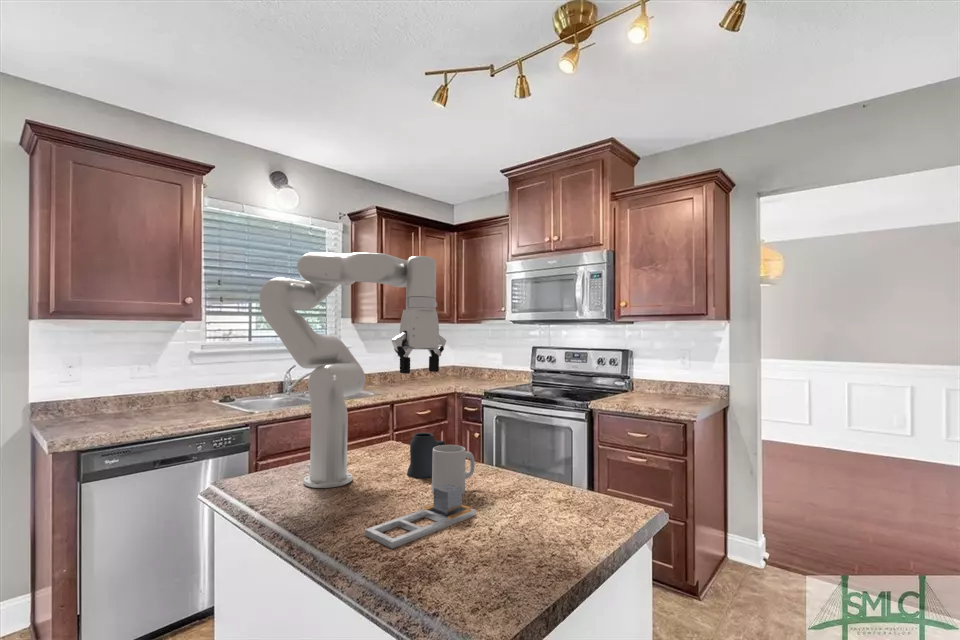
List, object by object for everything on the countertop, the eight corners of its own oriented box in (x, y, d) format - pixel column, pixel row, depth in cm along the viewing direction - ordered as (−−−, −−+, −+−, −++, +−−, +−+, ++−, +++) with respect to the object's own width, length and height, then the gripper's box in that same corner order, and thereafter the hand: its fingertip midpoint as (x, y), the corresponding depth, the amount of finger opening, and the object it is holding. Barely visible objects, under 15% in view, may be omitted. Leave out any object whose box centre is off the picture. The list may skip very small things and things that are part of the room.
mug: (442, 499, 115) (443, 453, 115) (425, 490, 122) (426, 447, 122) (482, 491, 122) (483, 447, 122) (464, 482, 129) (465, 441, 129)
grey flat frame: (364, 535, 93) (364, 528, 93) (447, 505, 110) (447, 499, 111) (392, 548, 88) (392, 541, 88) (475, 515, 105) (475, 508, 105)
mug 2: (419, 480, 130) (419, 439, 130) (400, 473, 137) (401, 434, 137) (452, 472, 138) (453, 433, 139) (433, 466, 145) (434, 429, 145)
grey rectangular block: (433, 516, 104) (433, 488, 104) (447, 510, 108) (447, 483, 108) (447, 521, 101) (447, 492, 102) (461, 515, 105) (461, 488, 105)
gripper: (435, 307, 130) (434, 370, 129) (384, 303, 117) (382, 373, 116) (455, 306, 125) (454, 371, 124) (403, 302, 112) (402, 375, 111)
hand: (419, 372), depth 120 cm, fingers open, 9 cm apart
